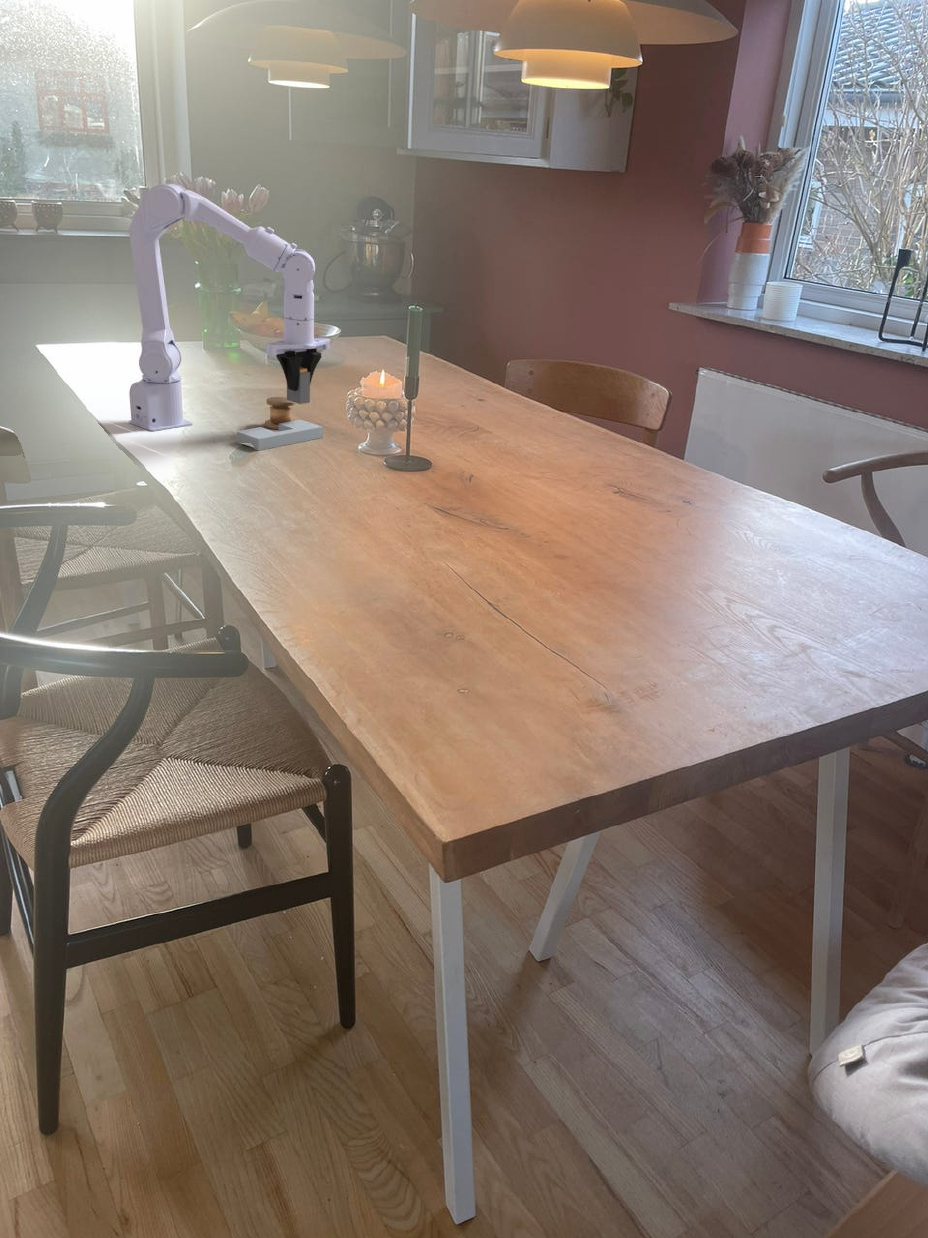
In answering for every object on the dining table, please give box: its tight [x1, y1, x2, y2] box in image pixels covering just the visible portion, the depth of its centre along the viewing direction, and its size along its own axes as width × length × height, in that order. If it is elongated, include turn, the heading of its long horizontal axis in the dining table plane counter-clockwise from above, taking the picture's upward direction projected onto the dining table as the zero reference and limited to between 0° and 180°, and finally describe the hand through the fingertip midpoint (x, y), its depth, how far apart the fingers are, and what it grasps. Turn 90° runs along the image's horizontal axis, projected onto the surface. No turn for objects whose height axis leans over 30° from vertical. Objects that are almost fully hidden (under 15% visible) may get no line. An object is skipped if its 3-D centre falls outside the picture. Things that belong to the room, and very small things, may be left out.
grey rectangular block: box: [286, 367, 311, 405], centre depth 187 cm, size 2×4×7 cm, turn 50°
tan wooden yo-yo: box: [264, 396, 296, 431], centre depth 192 cm, size 6×6×5 cm
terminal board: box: [236, 419, 324, 452], centre depth 183 cm, size 16×6×2 cm, turn 140°
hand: (298, 388), depth 187 cm, fingers closed on grey rectangular block, 2 cm apart
